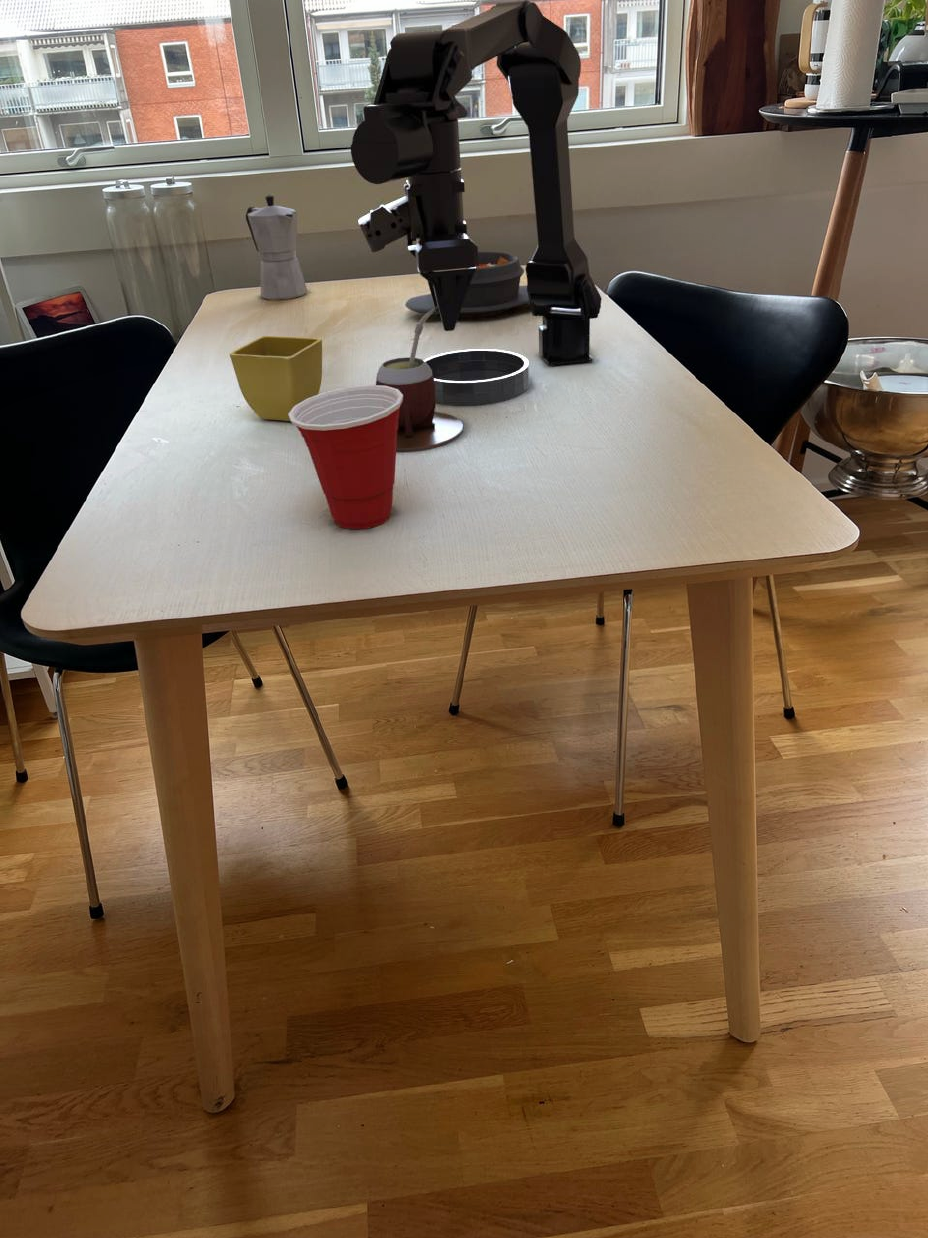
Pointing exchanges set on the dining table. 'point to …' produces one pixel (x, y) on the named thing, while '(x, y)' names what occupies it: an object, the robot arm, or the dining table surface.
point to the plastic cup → (353, 450)
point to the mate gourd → (411, 387)
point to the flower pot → (278, 373)
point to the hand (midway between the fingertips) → (444, 320)
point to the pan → (478, 376)
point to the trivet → (431, 434)
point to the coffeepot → (277, 250)
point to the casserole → (486, 288)
